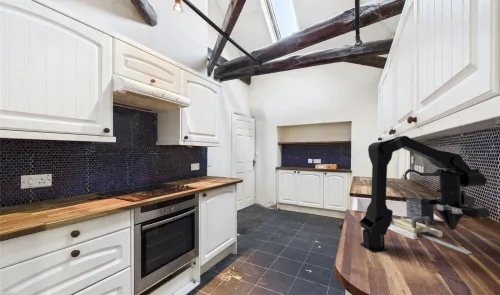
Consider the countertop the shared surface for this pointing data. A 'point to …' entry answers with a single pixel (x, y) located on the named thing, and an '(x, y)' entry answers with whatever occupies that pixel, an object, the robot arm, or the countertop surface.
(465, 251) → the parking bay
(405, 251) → the countertop surface
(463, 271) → the countertop surface
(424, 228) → the beige hollow block
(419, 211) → the small box
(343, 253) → the countertop surface
